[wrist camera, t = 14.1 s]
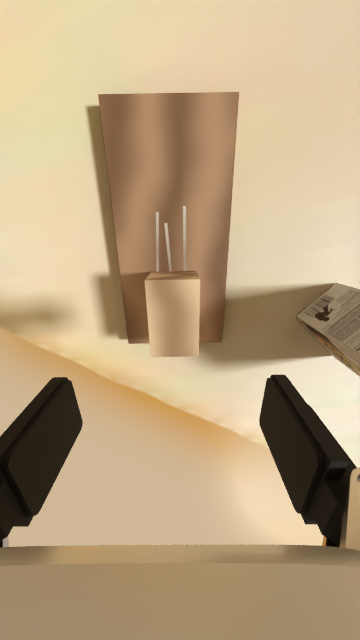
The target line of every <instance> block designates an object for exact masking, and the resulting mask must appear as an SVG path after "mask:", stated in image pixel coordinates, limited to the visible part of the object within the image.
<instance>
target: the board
mask: <svg viewBox="0 0 360 640" xmlns="http://www.w3.org/2000/svg"><path fill="white" fill-rule="evenodd" d="M98 97H99V105H100V113H101V121H102V129H103V138H104V146H105V154H106V162H107V170H108V178H109V187H110V195H111V203H112V211H113V219H114V227H115V236H116V244H117V252H118V260H119V268H120V276H121V285H122V293H123V301H124V309H125V317H126V325H127V334H128V342H129V344H134V343H150V341H149V329H148V317H147V304H146V292H145V279H146V278H147V277H148V275H149V274H150V273H151V272H160V271H196V272H197V274H198V276H199V278H200V317H199V342H222V333H223V318H224V303H225V289H226V274H227V260H228V245H229V231H230V216H231V201H232V187H233V172H234V158H235V143H236V129H237V114H238V99H239V92H215V93H156V94H98Z"/></svg>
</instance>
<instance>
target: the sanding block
mask: <svg viewBox="0 0 360 640" xmlns="http://www.w3.org/2000/svg"><path fill="white" fill-rule="evenodd" d="M145 292H146V304H147V317H148V329H149V341H150V354H151V357H177V356H199V317H200V278H199V276H198V274H197V272H196V271H160V272H151V273H150V274H149V275H148V277H147V278H146V279H145Z"/></svg>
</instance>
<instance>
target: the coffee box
mask: <svg viewBox="0 0 360 640" xmlns="http://www.w3.org/2000/svg"><path fill="white" fill-rule="evenodd" d="M296 318H297V319H298V320H299V322H300V323H301V324H302V325H303V326H304V327H305V328H306V329H307V330H308V331H309V332H310V333H311V334H312V335H313V336H314V337H315V338H316V339H317V340H318V341H319V342H320V343H321V344H322V345H323V346H324V347H325V348H326V349H327V350H328V351H329V352H330V354H331V355H332V356H333V357H335V358H336V359H337V360H339V361H340V362H341V363H343V364H344V365H345V366H347V367H348V368H349V369H351V370H352V371H353V372H355V373H356V374H357V375H359V376H360V290H359V289H356V288H352V287H349V286H345V285H342V284H338V283H336V284H334V285H333V286H332V287H331V288H329V289H328V290H327V291H326V292H325V293H323V294H322V295H321V296H320V297H319V298H317V299H316V300H315V301H314V302H313V303H311V304H310V305H309V306H308V307H307V308H305V309H304V310H303V311H302V312H301V313H299V314H298V315H297V316H296Z"/></svg>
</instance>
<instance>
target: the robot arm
mask: <svg viewBox="0 0 360 640" xmlns="http://www.w3.org/2000/svg"><path fill="white" fill-rule="evenodd" d="M259 421H260V427H261V429H262V432H263V434H264V437H265V439H266V441H267V444H268V446H269V449H270V451H271V453H272V456H273V458H274V460H275V463H276V465H277V468H278V470H279V472H280V475H281V477H282V480H283V482H284V485H285V487H286V489H287V492H288V494H289V497H290V499H291V501H292V504H293V506H294V508H295V510H296V512H297V513H300V514H301V515H302V518H303V520H304V522H305V524H317V525H318V527H319V529H320V531H321V533H322V535H324V538H323V544H322V546H308V545H307V546H306V545H99V546H98V545H97V546H28V547H27V546H26V547H8V534H9V533H10V531H11V529H12V527H13V526H29V524H30V522H31V520H32V518H33V516H35V515H37V514H38V513H39V511H40V509H41V508H42V505H43V504H44V502H45V500H46V498H47V496H48V494H49V492H50V490H51V488H52V486H53V483H54V482H55V480H56V478H57V476H58V474H59V472H60V470H61V468H62V466H63V464H64V462H65V460H66V458H67V456H68V454H69V452H70V450H71V448H72V446H73V444H74V442H75V440H76V438H77V436H78V434H79V433H80V431H81V428H82V418H81V414H80V410H79V407H78V403H77V400H76V396H75V392H74V388H73V385H72V382H71V381H70V380H68V378H66V377H57V378H56V377H55V378H52V379H51V380H50V381H49V382H48V383H47V385H46V386H45V387H44V388H43V389H42V390H41V391H40V393H39V394H38V395H37V396H36V397H35V398H34V399H33V400H32V401H31V403H30V404H29V405H28V406H27V407H26V408H25V409H24V410H23V412H22V413H21V414H20V415H19V416H18V417H17V418H16V419H15V421H14V422H13V423H12V424H11V425H10V426H9V428H8V429H7V430H6V431H5V432H4V433H3V434H2V435H1V437H0V640H360V468H357V467H356V466H355V465H354V463H353V462H352V461H351V459H350V458H349V457H348V455H347V454H346V453H345V451H344V450H343V449H342V447H341V446H340V445H339V443H338V442H337V441H336V439H335V438H334V437H333V435H332V434H331V433H330V431H329V430H328V429H327V427H326V426H325V425H324V424H323V422H322V421H321V420H320V418H319V417H318V416H317V414H316V413H315V412H314V410H313V409H312V408H311V407H310V406H309V405H308V404H307V403H306V402H305V401H304V399H303V398H302V397H301V395H300V394H299V393H298V391H297V390H296V389H295V387H294V386H293V385H292V383H291V382H290V381H289V379H288V378H287V377H286V376H285V375H271V377H270V378H268V379H267V381H266V387H265V392H264V397H263V403H262V408H261V414H260V420H259Z"/></svg>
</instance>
